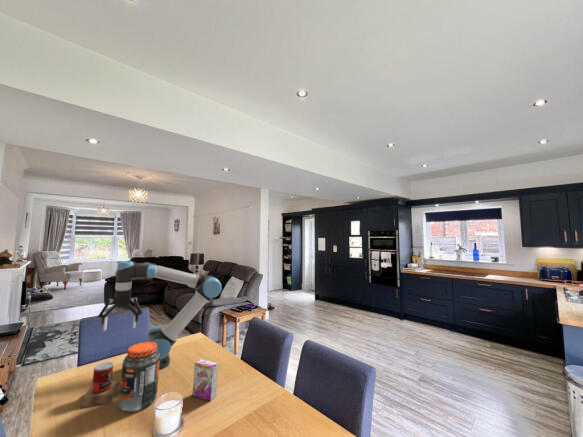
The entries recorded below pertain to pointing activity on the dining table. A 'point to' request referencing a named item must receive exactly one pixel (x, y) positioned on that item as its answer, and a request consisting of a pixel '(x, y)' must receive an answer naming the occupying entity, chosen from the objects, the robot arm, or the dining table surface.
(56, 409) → the dining table surface
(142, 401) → the supplement tub
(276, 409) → the dining table surface
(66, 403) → the dining table surface
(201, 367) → the candy bar box
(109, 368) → the canned food
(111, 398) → the plinth
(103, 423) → the dining table surface
